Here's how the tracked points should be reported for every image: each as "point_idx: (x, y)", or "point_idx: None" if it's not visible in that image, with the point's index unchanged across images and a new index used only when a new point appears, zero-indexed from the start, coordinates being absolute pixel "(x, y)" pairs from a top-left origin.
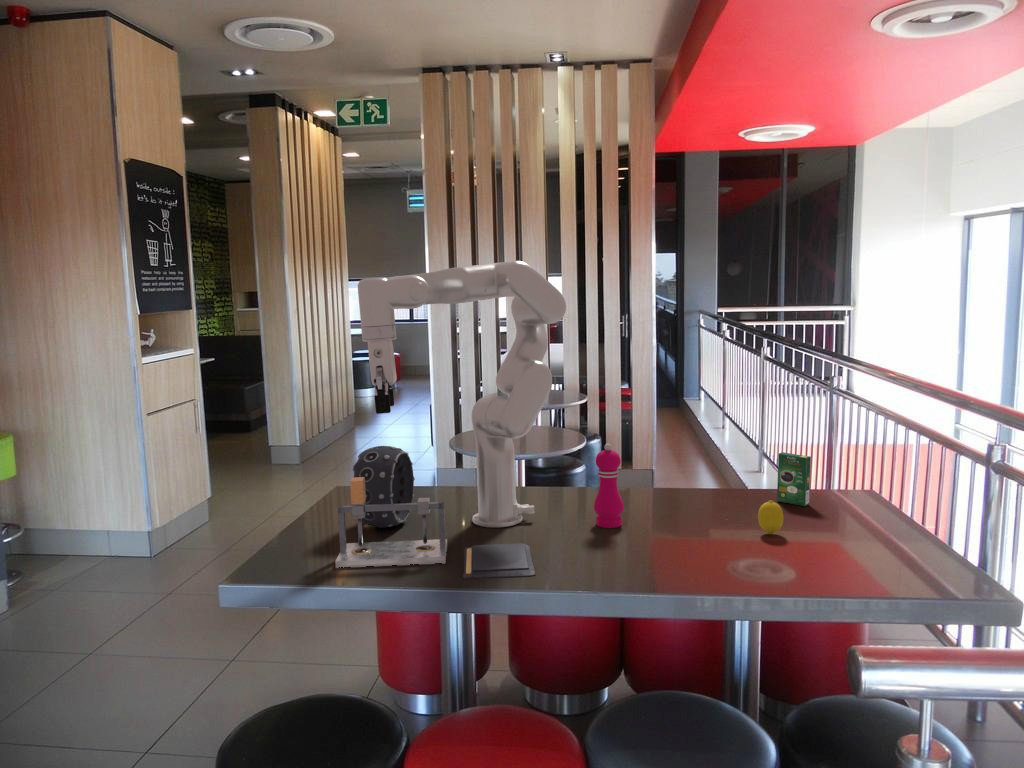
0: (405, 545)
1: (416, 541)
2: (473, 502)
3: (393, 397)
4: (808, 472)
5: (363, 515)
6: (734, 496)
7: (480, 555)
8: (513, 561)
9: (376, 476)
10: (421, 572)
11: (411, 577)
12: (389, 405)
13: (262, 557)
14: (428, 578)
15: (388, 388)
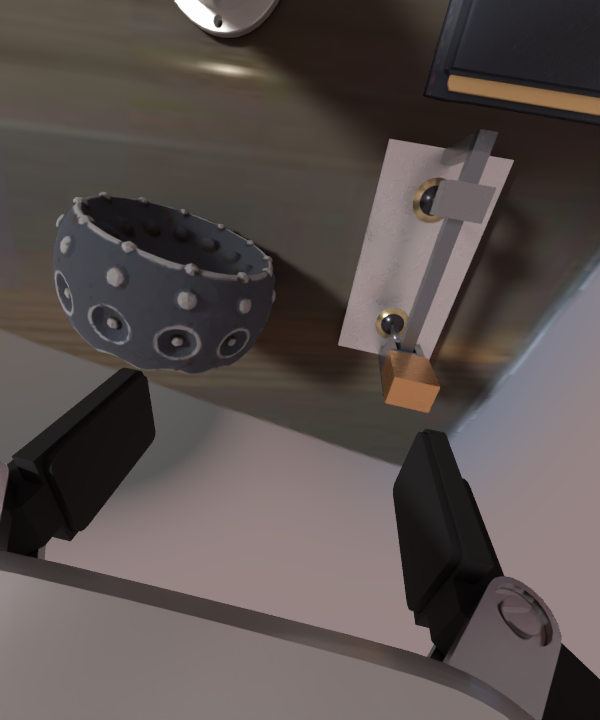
0: (395, 242)
1: (377, 216)
2: (43, 7)
3: (99, 403)
4: None
5: (420, 347)
6: None
7: (550, 55)
8: None
9: (245, 319)
10: (531, 221)
11: (547, 244)
12: (455, 472)
13: (331, 438)
14: (576, 211)
15: (39, 495)
